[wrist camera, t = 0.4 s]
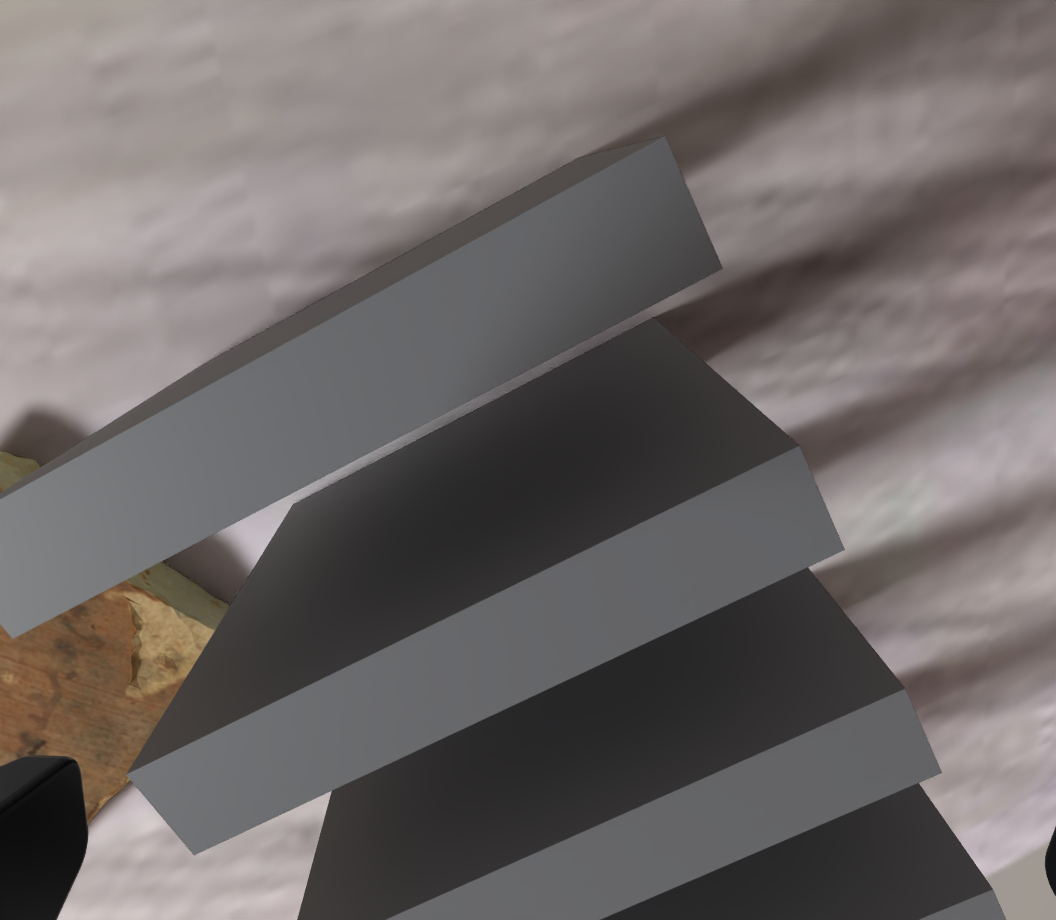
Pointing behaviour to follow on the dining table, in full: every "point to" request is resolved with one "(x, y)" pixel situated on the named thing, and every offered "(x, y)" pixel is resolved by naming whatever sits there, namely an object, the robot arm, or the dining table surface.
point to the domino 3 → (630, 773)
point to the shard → (101, 670)
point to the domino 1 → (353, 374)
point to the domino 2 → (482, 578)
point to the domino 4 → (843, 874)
